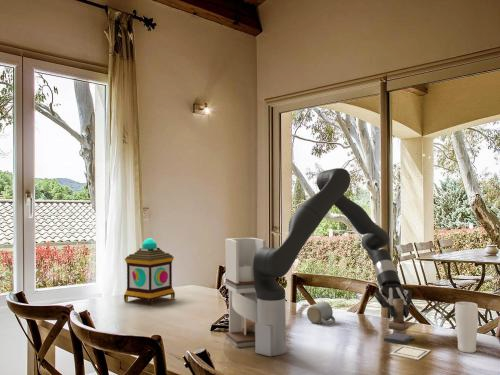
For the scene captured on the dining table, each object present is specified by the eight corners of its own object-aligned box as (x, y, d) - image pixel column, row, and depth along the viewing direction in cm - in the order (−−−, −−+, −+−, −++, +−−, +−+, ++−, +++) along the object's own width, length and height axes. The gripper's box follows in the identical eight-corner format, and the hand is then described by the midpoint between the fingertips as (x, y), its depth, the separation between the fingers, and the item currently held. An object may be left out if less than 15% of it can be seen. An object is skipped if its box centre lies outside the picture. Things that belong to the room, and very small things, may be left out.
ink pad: (403, 344, 165) (403, 341, 165) (383, 340, 170) (383, 337, 170) (413, 338, 172) (413, 335, 172) (394, 335, 177) (394, 332, 177)
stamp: (402, 331, 168) (402, 301, 168) (388, 328, 171) (388, 299, 171) (408, 327, 171) (408, 299, 172) (394, 325, 175) (394, 297, 175)
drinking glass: (459, 346, 163) (458, 300, 163) (481, 350, 159) (480, 303, 159) (452, 351, 158) (452, 304, 158) (475, 355, 153) (474, 307, 154)
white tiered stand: (226, 338, 174) (225, 238, 175) (254, 335, 178) (253, 237, 178) (236, 347, 163) (235, 241, 164) (266, 343, 167) (265, 240, 168)
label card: (418, 360, 149) (418, 359, 150) (389, 354, 155) (389, 353, 155) (430, 351, 158) (430, 350, 158) (403, 345, 164) (403, 344, 164)
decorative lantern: (179, 299, 241) (178, 237, 242) (150, 306, 225) (150, 240, 225) (148, 294, 252) (148, 236, 252) (119, 302, 235) (119, 239, 236)
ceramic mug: (305, 322, 195) (305, 302, 195) (317, 318, 201) (317, 299, 201) (327, 327, 188) (327, 307, 188) (339, 323, 194) (339, 303, 194)
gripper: (370, 269, 178) (383, 311, 166) (408, 268, 179) (424, 310, 167) (365, 281, 183) (378, 323, 171) (402, 280, 185) (417, 321, 172)
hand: (400, 316), depth 169 cm, fingers closed on stamp, 3 cm apart
